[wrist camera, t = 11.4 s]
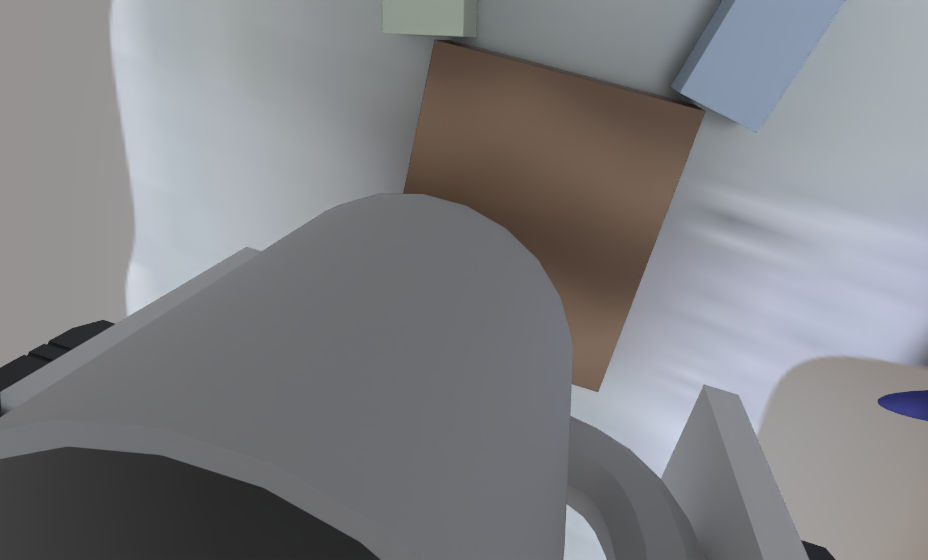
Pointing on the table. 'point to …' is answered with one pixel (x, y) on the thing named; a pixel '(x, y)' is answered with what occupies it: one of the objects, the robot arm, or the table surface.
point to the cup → (336, 414)
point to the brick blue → (752, 55)
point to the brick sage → (430, 17)
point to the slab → (556, 176)
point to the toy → (907, 404)
